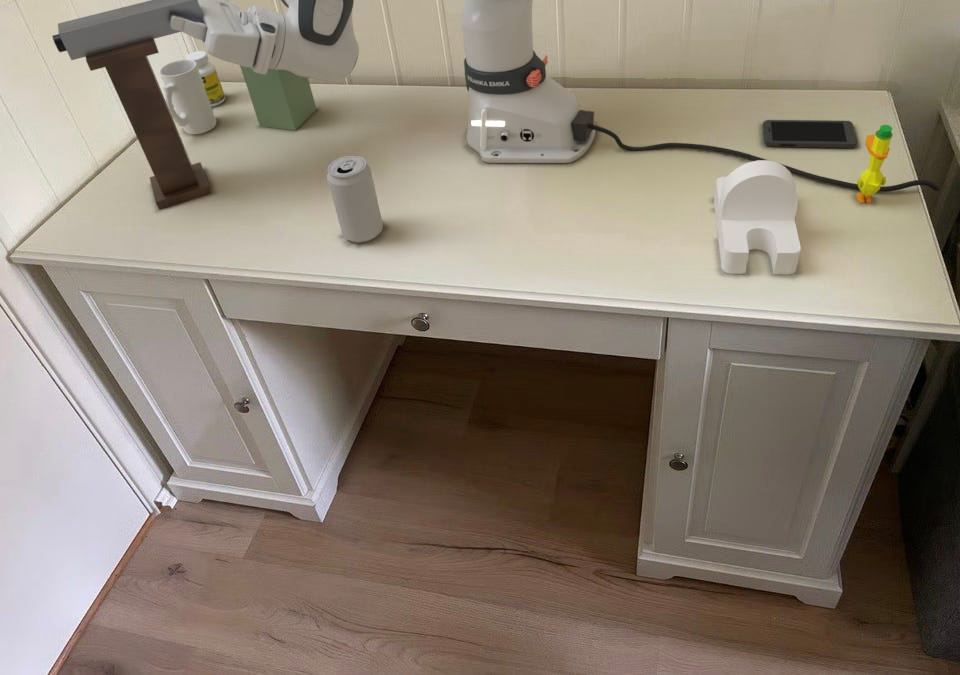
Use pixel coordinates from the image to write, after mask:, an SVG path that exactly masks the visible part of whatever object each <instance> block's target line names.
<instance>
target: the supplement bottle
mask: <svg viewBox="0 0 960 675" xmlns="http://www.w3.org/2000/svg"><path fill="white" fill-rule="evenodd" d="M185 59H189V60H193V61H195V62H196V64H197V67H198V70H199V73H200V75H201V78H202V81H203V84H204V87H205V90H206V93H207V96H208V99H209V102H210V104H211V107H212V108H213V107H217V106H220V105H221V104H222V103H224V102H225V100H226V96H225V92H224V89H223V86H222V83H221V80H220V78H219V75H218V71H217V69H216V66H215V64H214V63H213V62H211V61H209V56H208V53H207V51H203V50H197V51H193V52H190V53H189V54H187V55H186V56H185Z"/></svg>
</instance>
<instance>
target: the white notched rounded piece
mask: <svg viewBox="0 0 960 675" xmlns="http://www.w3.org/2000/svg"><path fill="white" fill-rule="evenodd" d="M781 164H782V163H779V162H777V161H772V160H769V159H766V160H757V161H749V162H745V163H743V164H742V165H739V166H738V167H736V168H735V169H733V170H732V171H731V172H730V173H729V174H728V175H727V176H720V177H718V178H717V179H716V183H715V189H714V190H715V191H714V197H713V198H714V199H713V205H714V214H715V223H716V232H717V240H718V249H719V250H718V251H719V258H720V268H721V270H722V272H724V273H726V274H731V275H746V271H747V266H748V260H749V255H750V251H752V250H759V251H763V252H765V253H766V254H768V255H769V259H770V264H771V269H772V273H773V274H772V275H787V276H789V275H793V274H795V273H796V272H797V268H798V263H799V260H800V255H801V254H800V253H801V250H802V247H801V243H800V237H799V234H798V229H797V225H796V216H797V212H798V211H797V210H798V207H799V205H798V204H799V196H798V190H797V187H796V183H795V178H794V177H793V175H792V173H791V172H790V171H789V170H788V169H787V168H786V167H785V166H783V165H784V164H783V165H781Z"/></svg>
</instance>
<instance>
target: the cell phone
mask: <svg viewBox="0 0 960 675" xmlns="http://www.w3.org/2000/svg"><path fill="white" fill-rule="evenodd" d="M762 133H763V144H764V145H765V146H767V147H771V148H772V147H776V148H777V147H778V148H779V147H780V148H837V149H839V148H840V149H854V148H856V146H857V144H858V141H857V140H858V139H857V135H856V131H855V126H854V124H853V122H852V121H850V120H830V119H829V120H823V119H822V120H821V119H817V120H816V119H815V120H814V119H809V120H808V119H766V120H763V122H762Z"/></svg>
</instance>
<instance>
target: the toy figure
mask: <svg viewBox="0 0 960 675" xmlns="http://www.w3.org/2000/svg"><path fill="white" fill-rule="evenodd" d="M892 131H893V127H892V126H891V125H889V124H882V125H880V126H879V129H877V130H876V131H875V134H867V135H866V138H865V147H866V149H867V151H868V153H869V154H870V155H869V161H868V162H869V163H868V168H866V169H865V170H864V171H862V172H861V174H860V177H859V178H858V179H857V181H856V184H858V187H859V189H860V190H859V191H860V192H856V197H855V199H856V200H857V201H858V202H859V203H860V204H865V202H866V203H867V204H871V203H872V195H874V194H875V193H878V192H877V191H878V190H880V187H881V186H886V182H887V178H886V176H884V174H883V173H882V171H881V168H882V165H883V164H884V161H885V159H887V158H888V156H889V153H890V149H891V148H890V144H891V140H892V137H893V133H892Z"/></svg>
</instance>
